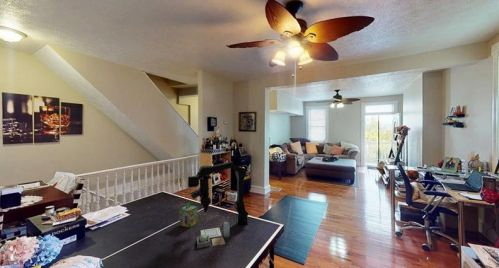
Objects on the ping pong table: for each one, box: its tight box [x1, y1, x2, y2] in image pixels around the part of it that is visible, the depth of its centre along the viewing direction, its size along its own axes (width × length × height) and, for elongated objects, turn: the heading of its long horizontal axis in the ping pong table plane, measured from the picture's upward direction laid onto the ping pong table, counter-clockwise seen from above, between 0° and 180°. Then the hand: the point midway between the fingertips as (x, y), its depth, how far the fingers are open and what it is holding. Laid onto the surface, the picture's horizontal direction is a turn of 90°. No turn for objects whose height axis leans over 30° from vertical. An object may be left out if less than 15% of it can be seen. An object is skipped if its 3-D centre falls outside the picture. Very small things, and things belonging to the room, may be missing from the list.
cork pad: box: [210, 236, 226, 247], centre depth 119 cm, size 7×7×1 cm
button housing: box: [196, 235, 211, 249], centre depth 117 cm, size 7×7×2 cm
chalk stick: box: [223, 221, 230, 238], centre depth 125 cm, size 4×4×8 cm
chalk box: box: [178, 201, 199, 229], centre depth 140 cm, size 9×9×15 cm
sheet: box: [200, 227, 223, 239], centre depth 128 cm, size 12×10×1 cm
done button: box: [199, 234, 207, 243], centre depth 117 cm, size 4×4×3 cm
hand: (204, 209), depth 132 cm, fingers open, 9 cm apart
